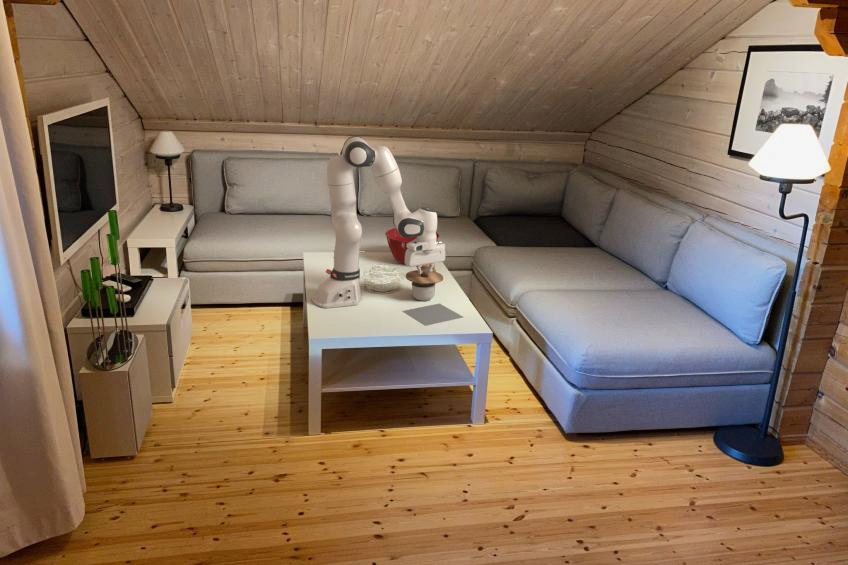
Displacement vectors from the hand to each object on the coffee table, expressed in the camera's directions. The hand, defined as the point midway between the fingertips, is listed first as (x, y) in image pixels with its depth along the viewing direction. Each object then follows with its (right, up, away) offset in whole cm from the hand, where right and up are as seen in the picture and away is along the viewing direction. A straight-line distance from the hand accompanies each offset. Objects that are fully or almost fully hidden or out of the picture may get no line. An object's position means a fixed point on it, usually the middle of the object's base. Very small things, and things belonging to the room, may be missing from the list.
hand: (424, 272), depth 303 cm
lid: (0, -2, +1) cm, 2 cm away
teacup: (-1, -12, +4) cm, 12 cm away
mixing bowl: (-7, +7, +55) cm, 56 cm away
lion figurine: (+1, -2, +33) cm, 33 cm away
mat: (+4, -18, -15) cm, 24 cm away
